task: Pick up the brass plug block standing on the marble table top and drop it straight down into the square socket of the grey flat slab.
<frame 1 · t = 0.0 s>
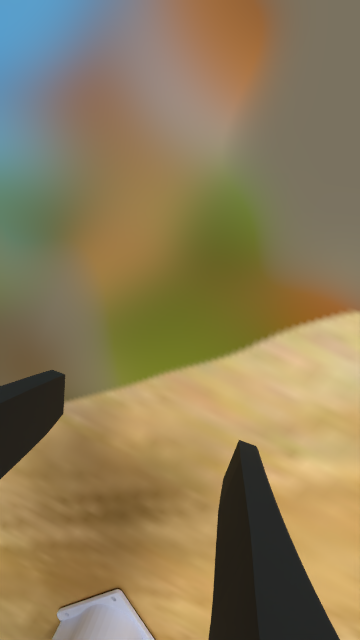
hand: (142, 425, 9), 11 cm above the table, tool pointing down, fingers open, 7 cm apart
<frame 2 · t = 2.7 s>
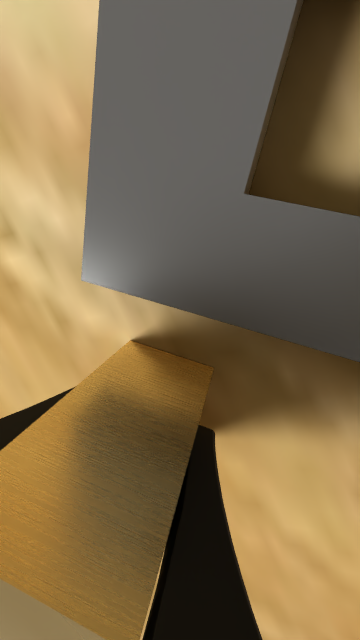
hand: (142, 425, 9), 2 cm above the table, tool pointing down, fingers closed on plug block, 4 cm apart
plug block: (162, 389, 12), on the table, touching gripper
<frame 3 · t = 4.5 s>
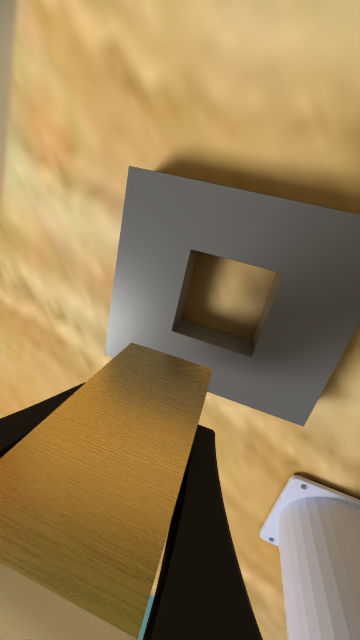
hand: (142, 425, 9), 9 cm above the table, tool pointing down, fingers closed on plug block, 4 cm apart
grey flat slab: (226, 296, 17), on the table
plug block: (163, 390, 12), point 7 cm above the table, touching gripper
when the fingers open (3 cm above the table, at t = 6.3 s): plug block stays where it is, resting in grey flat slab.
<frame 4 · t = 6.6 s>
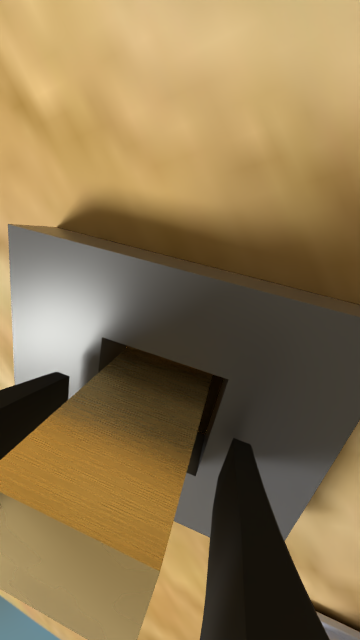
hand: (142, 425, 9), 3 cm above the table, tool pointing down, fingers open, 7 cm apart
grey flat slab: (168, 378, 13), on the table
plug block: (168, 382, 13), resting in grey flat slab
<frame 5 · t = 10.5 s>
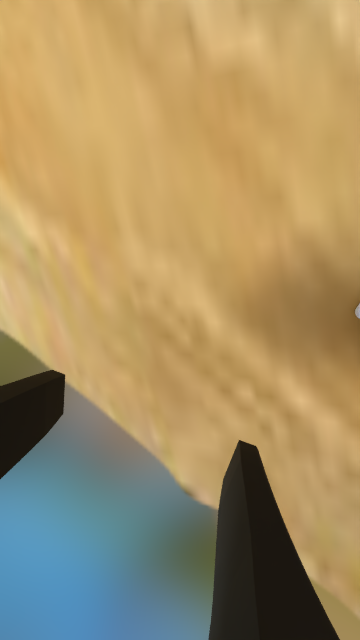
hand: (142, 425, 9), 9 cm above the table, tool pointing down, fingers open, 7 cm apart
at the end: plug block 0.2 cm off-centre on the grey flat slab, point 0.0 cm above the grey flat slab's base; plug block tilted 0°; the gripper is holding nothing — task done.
